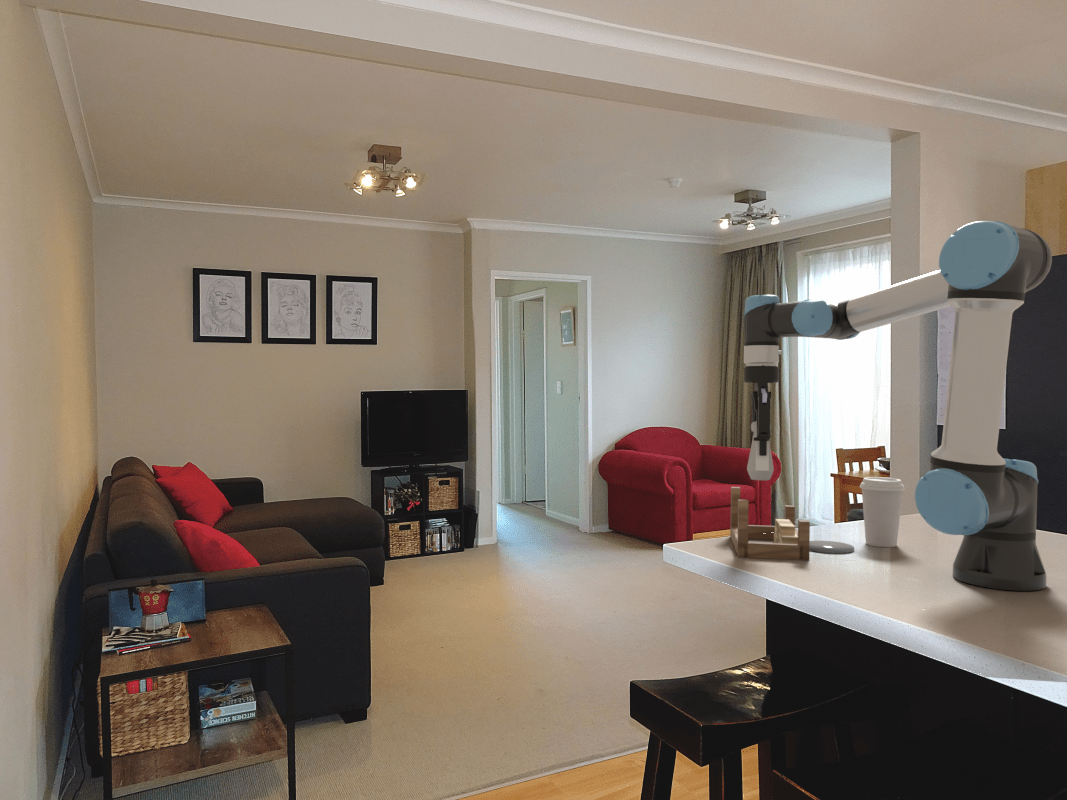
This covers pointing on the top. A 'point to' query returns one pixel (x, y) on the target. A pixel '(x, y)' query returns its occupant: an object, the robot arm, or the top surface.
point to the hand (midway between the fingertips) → (760, 468)
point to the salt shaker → (752, 460)
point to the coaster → (830, 547)
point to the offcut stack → (785, 532)
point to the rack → (765, 550)
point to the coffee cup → (881, 510)
